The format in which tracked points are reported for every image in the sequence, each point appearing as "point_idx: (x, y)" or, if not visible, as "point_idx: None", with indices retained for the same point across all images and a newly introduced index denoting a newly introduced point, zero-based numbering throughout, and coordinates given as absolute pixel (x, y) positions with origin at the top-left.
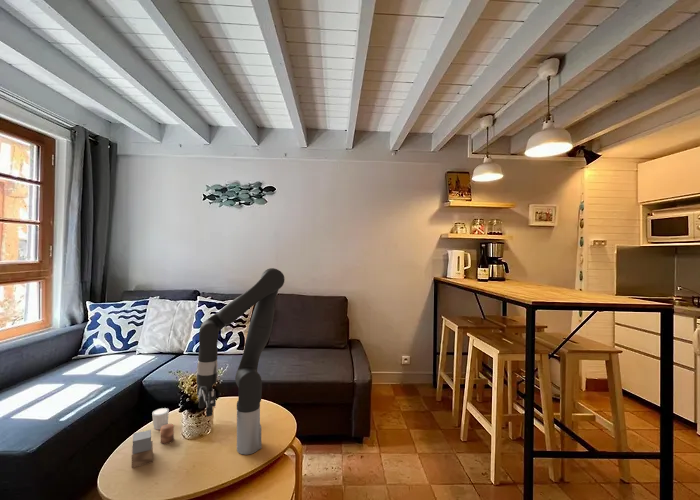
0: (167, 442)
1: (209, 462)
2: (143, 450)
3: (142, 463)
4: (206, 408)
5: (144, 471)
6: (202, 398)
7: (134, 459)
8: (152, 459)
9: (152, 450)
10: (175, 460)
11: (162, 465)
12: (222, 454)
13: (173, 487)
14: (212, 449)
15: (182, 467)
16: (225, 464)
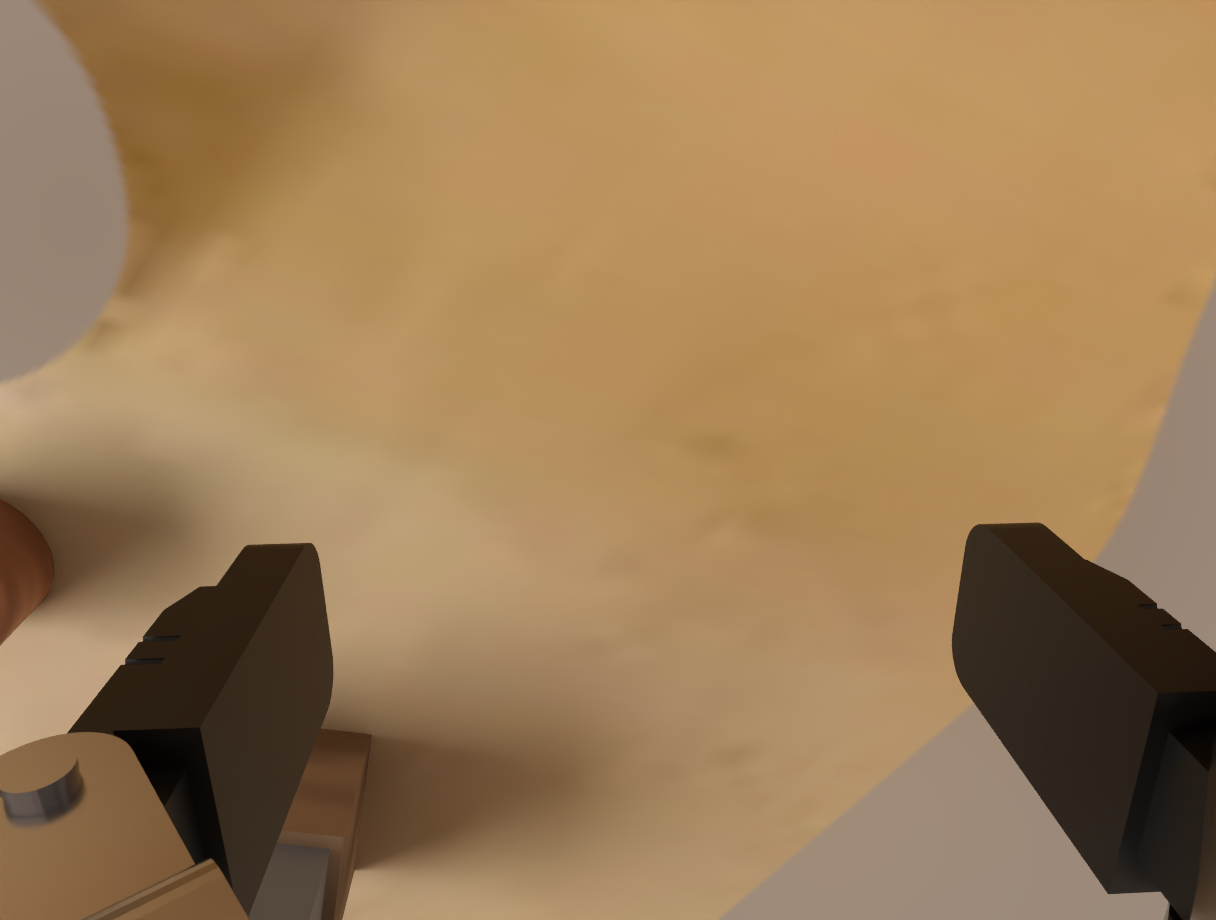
0: (46, 574)
1: (777, 289)
2: (318, 914)
3: (360, 816)
4: (1087, 845)
5: (484, 805)
6: (194, 842)
7: (339, 916)
8: (366, 759)
9: (344, 834)
10: (479, 571)
11: (488, 680)
12: (730, 85)
13: (902, 669)
14: (521, 157)
15: (657, 545)
16: (964, 140)
